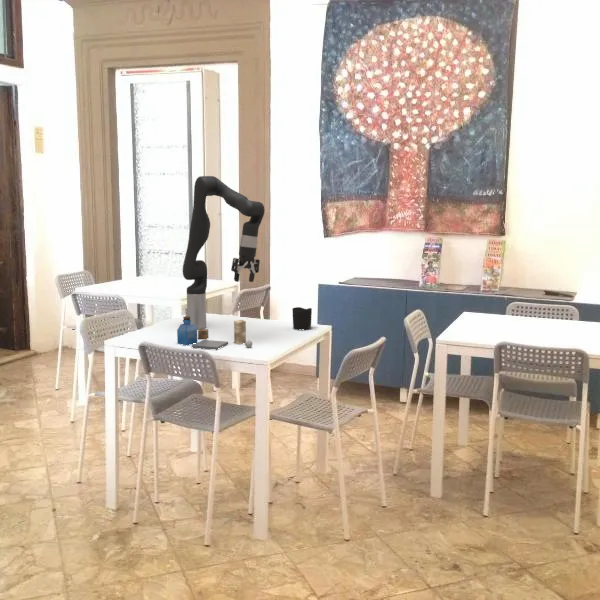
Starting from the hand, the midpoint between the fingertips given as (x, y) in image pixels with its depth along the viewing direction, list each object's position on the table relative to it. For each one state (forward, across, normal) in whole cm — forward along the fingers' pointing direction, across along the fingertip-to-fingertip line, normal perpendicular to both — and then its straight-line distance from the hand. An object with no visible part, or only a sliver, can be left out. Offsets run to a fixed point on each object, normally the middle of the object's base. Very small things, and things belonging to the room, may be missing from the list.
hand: (243, 281), depth 329 cm
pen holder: (+23, -40, +2) cm, 46 cm away
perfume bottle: (+30, +19, -10) cm, 37 cm away
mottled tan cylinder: (+27, +2, +6) cm, 28 cm away
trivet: (+29, +16, +2) cm, 33 cm away
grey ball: (+25, +6, +15) cm, 30 cm away
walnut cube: (+29, +8, -14) cm, 33 cm away
